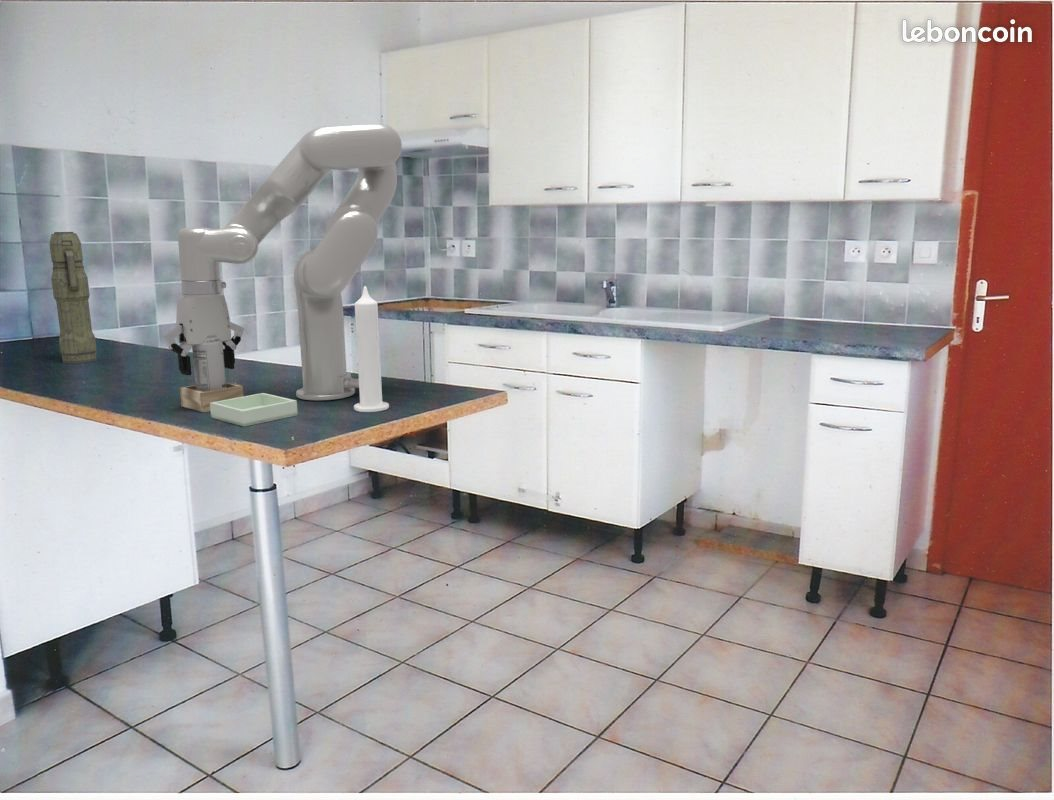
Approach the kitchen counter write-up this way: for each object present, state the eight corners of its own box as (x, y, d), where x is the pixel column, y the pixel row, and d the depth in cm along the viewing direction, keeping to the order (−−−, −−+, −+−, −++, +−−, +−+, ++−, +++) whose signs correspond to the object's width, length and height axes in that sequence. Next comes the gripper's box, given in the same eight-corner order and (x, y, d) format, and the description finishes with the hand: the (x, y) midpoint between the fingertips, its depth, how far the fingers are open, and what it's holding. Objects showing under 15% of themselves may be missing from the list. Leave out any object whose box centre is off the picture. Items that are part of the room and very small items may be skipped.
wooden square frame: (244, 404, 185) (242, 386, 184) (203, 412, 178) (201, 393, 177) (221, 398, 191) (219, 380, 190) (181, 406, 184) (179, 387, 183)
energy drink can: (232, 405, 184) (226, 334, 181) (203, 410, 180) (196, 337, 177) (222, 401, 189) (215, 331, 185) (193, 405, 185) (186, 334, 182)
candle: (377, 413, 175) (371, 288, 170) (347, 410, 178) (340, 287, 172) (395, 406, 182) (389, 284, 176) (365, 403, 184) (359, 284, 179)
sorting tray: (297, 415, 175) (296, 400, 174) (243, 426, 166) (242, 411, 165) (264, 406, 182) (263, 392, 182) (211, 417, 174) (209, 402, 173)
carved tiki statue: (69, 365, 235) (52, 232, 228) (56, 360, 244) (39, 232, 236) (104, 361, 241) (88, 231, 234) (89, 356, 250) (74, 231, 242)
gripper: (230, 285, 188) (235, 364, 192) (151, 290, 175) (159, 374, 179) (249, 287, 183) (254, 368, 187) (170, 293, 170) (177, 379, 174)
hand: (208, 371), depth 183 cm, fingers open, 9 cm apart
